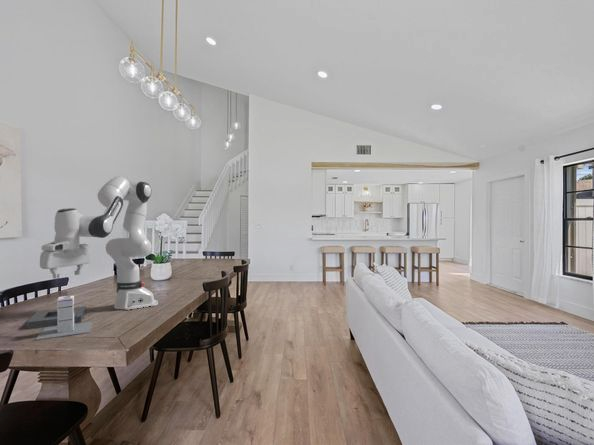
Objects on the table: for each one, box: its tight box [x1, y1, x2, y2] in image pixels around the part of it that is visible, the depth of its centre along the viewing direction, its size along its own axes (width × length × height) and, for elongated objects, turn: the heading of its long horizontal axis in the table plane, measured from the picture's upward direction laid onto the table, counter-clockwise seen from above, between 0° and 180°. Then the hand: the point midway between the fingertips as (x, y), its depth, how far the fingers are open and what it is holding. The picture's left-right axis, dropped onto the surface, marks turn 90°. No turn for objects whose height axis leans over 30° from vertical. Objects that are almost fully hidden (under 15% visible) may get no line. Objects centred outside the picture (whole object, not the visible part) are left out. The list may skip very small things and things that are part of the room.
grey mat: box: [35, 321, 94, 341], centre depth 135 cm, size 18×16×1 cm
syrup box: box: [56, 295, 75, 333], centre depth 134 cm, size 6×6×14 cm
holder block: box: [25, 305, 87, 330], centre depth 150 cm, size 20×20×3 cm
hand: (67, 276), depth 135 cm, fingers open, 8 cm apart
